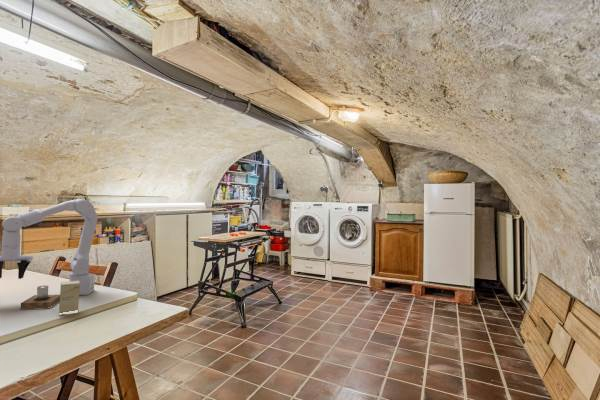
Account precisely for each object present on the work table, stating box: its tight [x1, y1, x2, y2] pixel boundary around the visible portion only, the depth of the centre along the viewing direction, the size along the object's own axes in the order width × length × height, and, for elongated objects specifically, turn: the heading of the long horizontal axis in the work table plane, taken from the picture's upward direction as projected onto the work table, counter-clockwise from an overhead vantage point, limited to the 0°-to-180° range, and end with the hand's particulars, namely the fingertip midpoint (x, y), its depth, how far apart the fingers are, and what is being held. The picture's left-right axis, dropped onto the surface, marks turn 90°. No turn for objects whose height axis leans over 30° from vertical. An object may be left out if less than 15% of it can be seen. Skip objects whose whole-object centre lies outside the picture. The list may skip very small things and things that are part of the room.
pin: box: [36, 285, 49, 301], centre depth 133 cm, size 4×4×7 cm
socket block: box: [20, 294, 60, 310], centre depth 134 cm, size 10×10×2 cm
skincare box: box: [58, 280, 80, 314], centre depth 127 cm, size 6×4×12 cm
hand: (9, 278), depth 133 cm, fingers open, 7 cm apart
